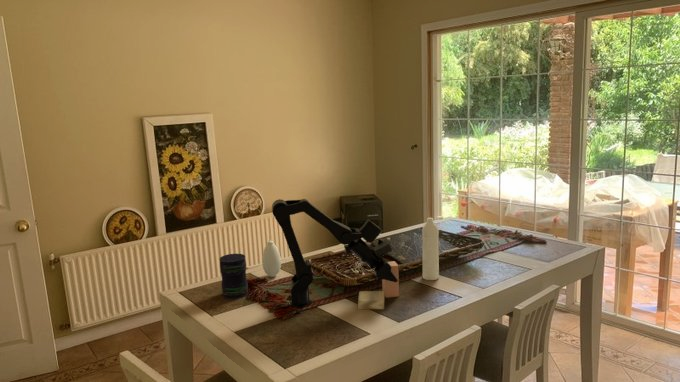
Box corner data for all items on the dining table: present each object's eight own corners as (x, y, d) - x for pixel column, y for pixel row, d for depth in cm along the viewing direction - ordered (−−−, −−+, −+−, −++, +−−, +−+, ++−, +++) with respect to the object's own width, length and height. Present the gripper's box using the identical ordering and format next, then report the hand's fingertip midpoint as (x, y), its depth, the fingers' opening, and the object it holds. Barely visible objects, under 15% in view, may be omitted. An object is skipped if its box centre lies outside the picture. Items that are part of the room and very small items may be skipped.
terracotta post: (385, 297, 186) (385, 266, 184) (382, 292, 191) (381, 262, 189) (398, 296, 187) (398, 265, 184) (395, 291, 192) (394, 261, 189)
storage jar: (252, 290, 198) (249, 254, 196) (241, 300, 189) (238, 262, 186) (229, 288, 201) (226, 253, 198) (217, 298, 192) (214, 261, 189)
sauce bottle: (260, 279, 210) (257, 237, 207) (267, 272, 218) (264, 232, 214) (278, 280, 208) (275, 238, 205) (284, 273, 216) (281, 233, 213)
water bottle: (427, 281, 200) (426, 220, 195) (419, 276, 206) (419, 217, 201) (446, 278, 203) (446, 218, 198) (438, 273, 209) (438, 214, 204)
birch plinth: (358, 309, 177) (358, 301, 176) (359, 298, 186) (359, 291, 185) (383, 309, 176) (383, 301, 175) (384, 298, 185) (384, 291, 184)
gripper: (384, 242, 175) (415, 269, 178) (372, 228, 193) (401, 253, 197) (363, 265, 175) (394, 292, 179) (353, 250, 193) (382, 274, 197)
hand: (393, 277), depth 188 cm, fingers open, 9 cm apart
